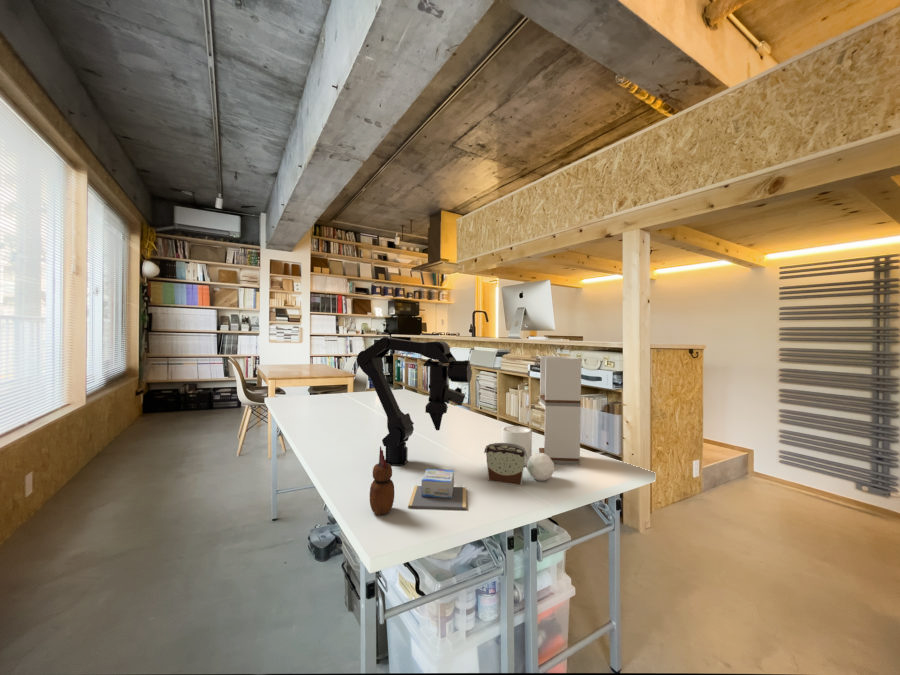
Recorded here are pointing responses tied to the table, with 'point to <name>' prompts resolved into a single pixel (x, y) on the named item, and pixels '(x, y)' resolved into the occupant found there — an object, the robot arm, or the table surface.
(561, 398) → the stacked beige boxes
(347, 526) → the table surface
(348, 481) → the table surface
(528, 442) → the mug
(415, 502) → the mat
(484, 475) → the table surface
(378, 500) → the wooden figurine
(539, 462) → the geometric ball
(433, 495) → the medicine box
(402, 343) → the robot arm
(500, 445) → the multicoloured piece
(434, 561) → the table surface
